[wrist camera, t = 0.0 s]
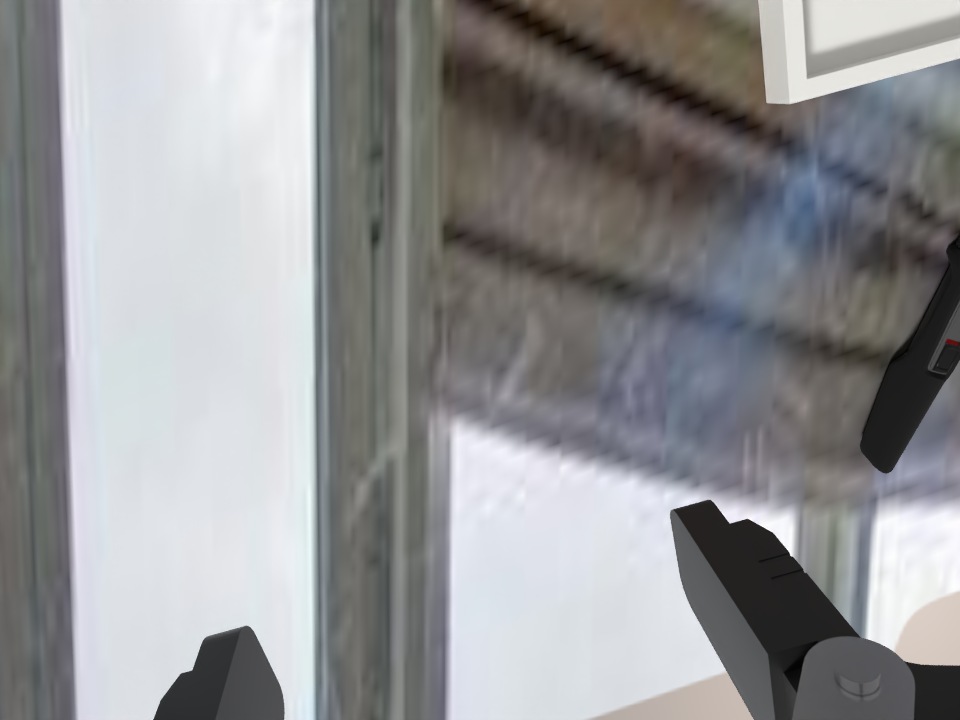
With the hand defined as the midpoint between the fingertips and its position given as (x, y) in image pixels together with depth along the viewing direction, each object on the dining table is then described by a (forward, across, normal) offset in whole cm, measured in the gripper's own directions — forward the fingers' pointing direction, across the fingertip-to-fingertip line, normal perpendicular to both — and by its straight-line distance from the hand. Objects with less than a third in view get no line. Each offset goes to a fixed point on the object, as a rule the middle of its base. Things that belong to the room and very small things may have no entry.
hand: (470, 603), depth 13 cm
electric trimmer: (+30, -30, +15) cm, 45 cm away
